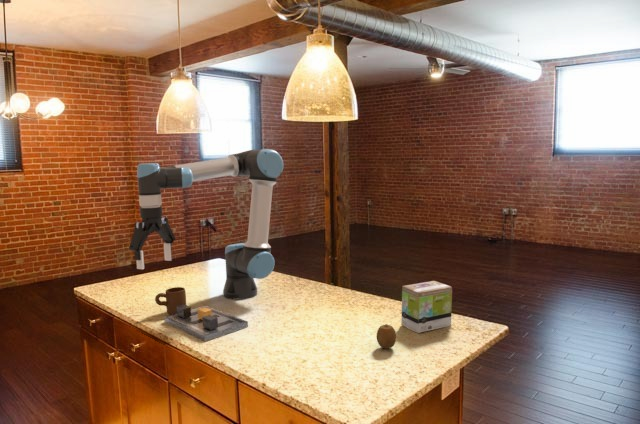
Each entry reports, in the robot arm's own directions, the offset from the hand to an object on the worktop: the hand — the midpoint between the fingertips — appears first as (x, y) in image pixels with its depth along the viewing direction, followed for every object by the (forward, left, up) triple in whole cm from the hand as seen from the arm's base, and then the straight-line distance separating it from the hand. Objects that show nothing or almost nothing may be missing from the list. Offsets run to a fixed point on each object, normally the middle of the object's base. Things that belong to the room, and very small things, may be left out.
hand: (154, 264), depth 171 cm
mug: (-5, -13, -24) cm, 27 cm away
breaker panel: (-16, +6, -23) cm, 29 cm away
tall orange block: (-16, +6, -21) cm, 27 cm away
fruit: (-66, +53, -24) cm, 88 cm away
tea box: (-89, +41, -24) cm, 101 cm away
